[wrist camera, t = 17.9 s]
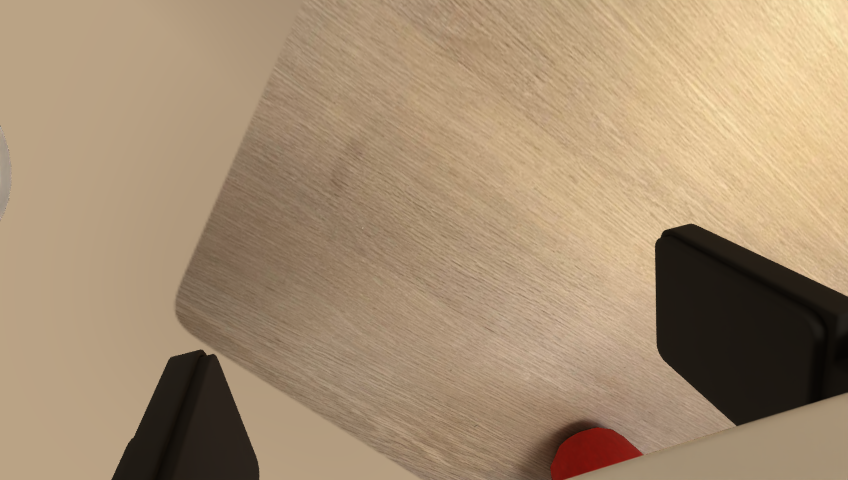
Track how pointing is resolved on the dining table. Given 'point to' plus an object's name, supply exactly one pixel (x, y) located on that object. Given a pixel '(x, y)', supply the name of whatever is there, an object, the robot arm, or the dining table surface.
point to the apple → (591, 453)
